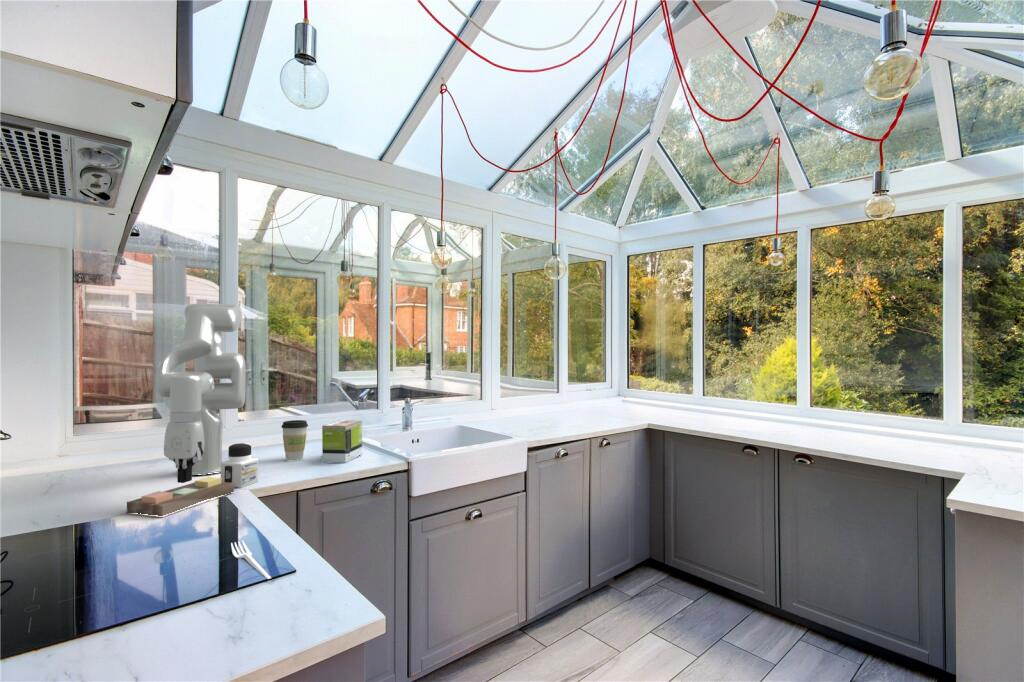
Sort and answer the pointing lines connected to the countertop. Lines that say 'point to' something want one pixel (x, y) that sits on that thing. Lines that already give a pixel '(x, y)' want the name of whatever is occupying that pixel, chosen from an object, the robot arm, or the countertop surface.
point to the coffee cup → (294, 438)
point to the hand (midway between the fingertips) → (184, 481)
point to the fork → (248, 558)
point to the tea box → (341, 441)
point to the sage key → (184, 491)
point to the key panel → (180, 499)
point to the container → (240, 466)
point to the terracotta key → (157, 497)
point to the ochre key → (207, 482)
